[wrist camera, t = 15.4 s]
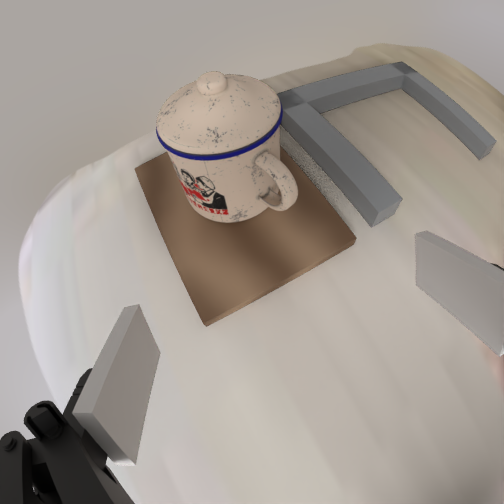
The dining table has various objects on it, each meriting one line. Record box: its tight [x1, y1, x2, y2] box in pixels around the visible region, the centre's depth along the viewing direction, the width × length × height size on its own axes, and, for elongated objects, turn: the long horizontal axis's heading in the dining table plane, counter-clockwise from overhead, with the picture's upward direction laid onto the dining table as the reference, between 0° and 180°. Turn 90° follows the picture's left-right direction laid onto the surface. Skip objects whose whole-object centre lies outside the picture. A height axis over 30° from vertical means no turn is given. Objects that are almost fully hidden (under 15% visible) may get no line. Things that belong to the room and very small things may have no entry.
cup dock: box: [277, 62, 497, 228], centre depth 31 cm, size 23×18×2 cm
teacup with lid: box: [156, 71, 298, 223], centre depth 22 cm, size 12×9×12 cm
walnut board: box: [135, 146, 356, 327], centre depth 28 cm, size 14×18×1 cm
